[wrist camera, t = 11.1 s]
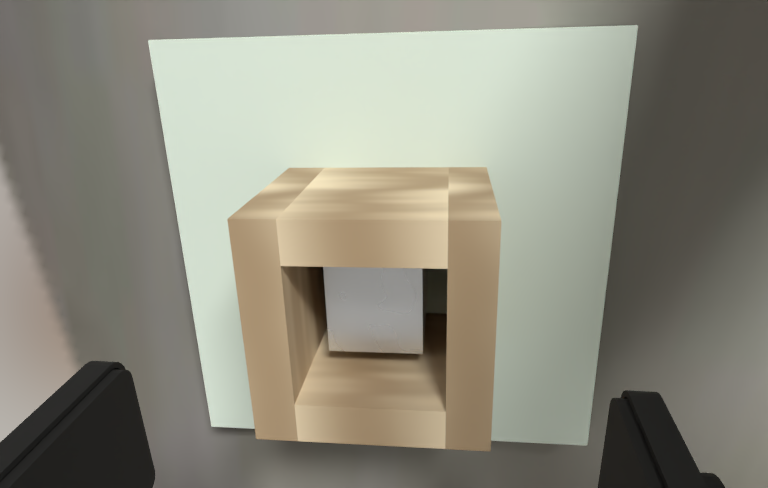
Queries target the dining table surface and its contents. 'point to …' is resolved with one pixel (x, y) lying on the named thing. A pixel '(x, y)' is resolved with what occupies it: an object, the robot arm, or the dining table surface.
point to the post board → (414, 149)
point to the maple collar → (371, 250)
